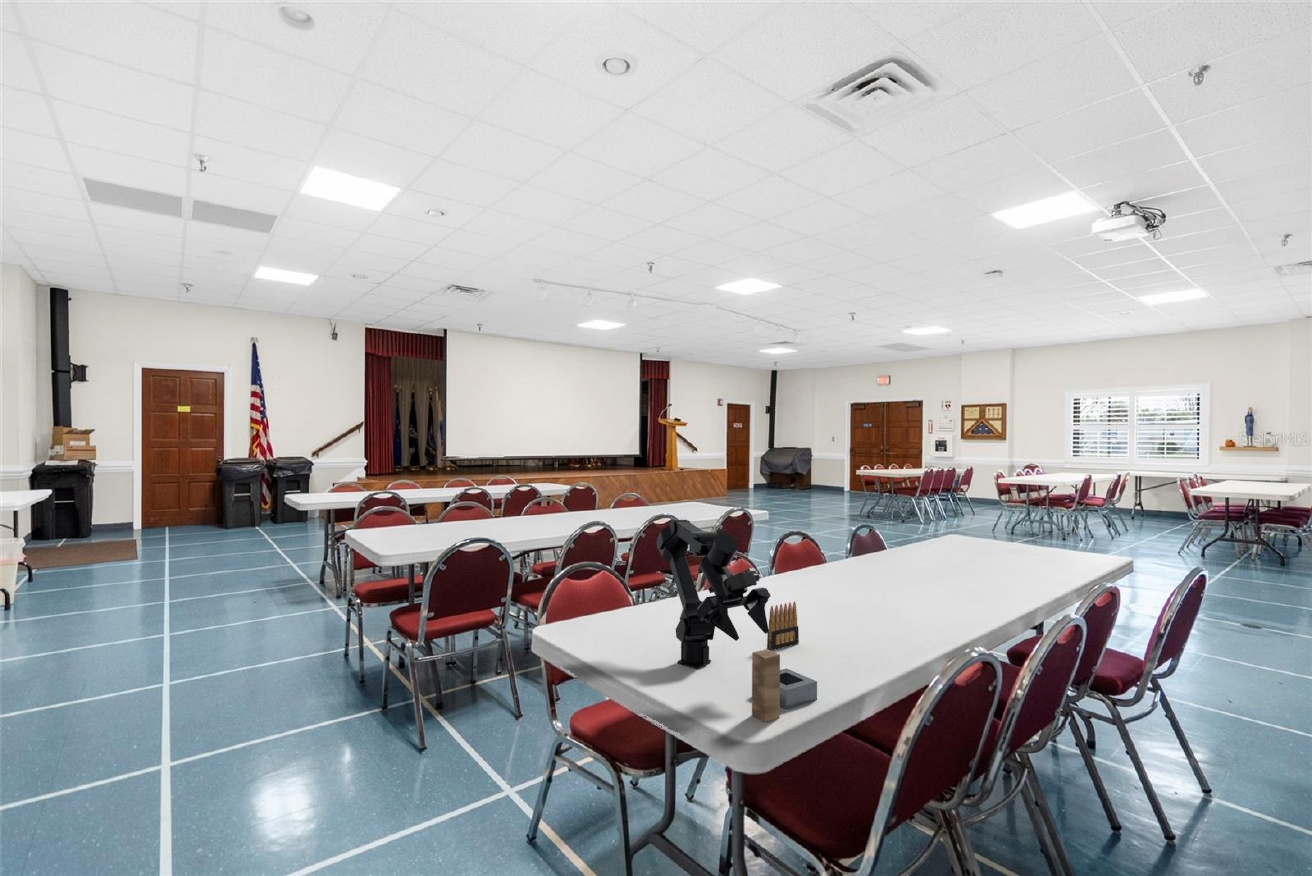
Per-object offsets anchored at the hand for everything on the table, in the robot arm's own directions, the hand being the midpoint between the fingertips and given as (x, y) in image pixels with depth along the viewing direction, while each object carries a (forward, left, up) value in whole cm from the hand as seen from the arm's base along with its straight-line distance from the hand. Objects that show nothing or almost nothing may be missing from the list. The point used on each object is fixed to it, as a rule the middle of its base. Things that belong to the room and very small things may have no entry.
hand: (752, 636), depth 136 cm
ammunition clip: (-11, +38, -14) cm, 42 cm away
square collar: (+5, +6, -14) cm, 16 cm away
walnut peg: (+6, -6, -14) cm, 17 cm away
